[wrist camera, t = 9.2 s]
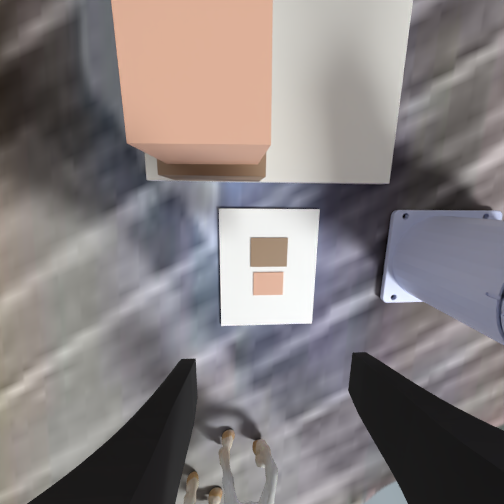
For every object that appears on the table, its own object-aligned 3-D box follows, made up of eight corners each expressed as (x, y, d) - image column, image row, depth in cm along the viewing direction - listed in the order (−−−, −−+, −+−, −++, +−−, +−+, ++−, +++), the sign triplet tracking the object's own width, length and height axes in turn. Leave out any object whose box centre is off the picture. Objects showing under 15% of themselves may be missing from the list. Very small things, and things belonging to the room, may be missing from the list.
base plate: (407, -31, 16) (418, -45, 15) (381, 184, 19) (389, 183, 18) (132, -53, 15) (125, -71, 14) (151, 180, 18) (146, 179, 17)
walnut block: (260, 89, 16) (268, 55, 12) (258, 181, 17) (265, 176, 14) (170, 85, 16) (148, 48, 12) (175, 180, 17) (158, 174, 13)
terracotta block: (257, 62, 12) (273, -28, 7) (257, 164, 13) (270, 144, 9) (158, 59, 12) (106, -38, 7) (167, 164, 13) (126, 143, 8)
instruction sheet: (318, 209, 19) (320, 209, 19) (310, 322, 21) (312, 323, 21) (219, 208, 19) (218, 208, 18) (221, 324, 21) (221, 326, 21)
